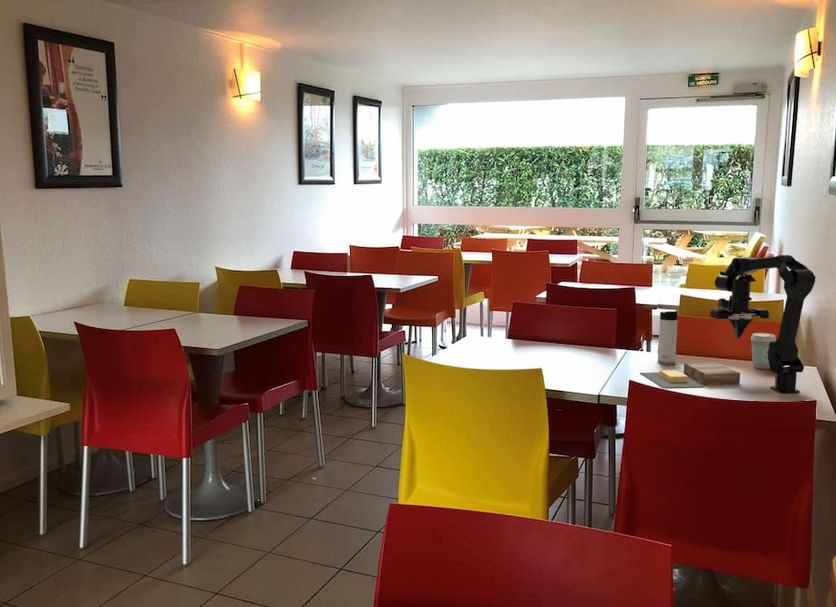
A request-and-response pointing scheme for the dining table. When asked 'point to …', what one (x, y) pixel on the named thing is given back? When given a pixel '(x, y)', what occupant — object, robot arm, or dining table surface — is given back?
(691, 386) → the mat
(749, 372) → the dining table surface
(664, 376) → the yellow flat block
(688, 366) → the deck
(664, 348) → the travel mug
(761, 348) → the coffee cup
